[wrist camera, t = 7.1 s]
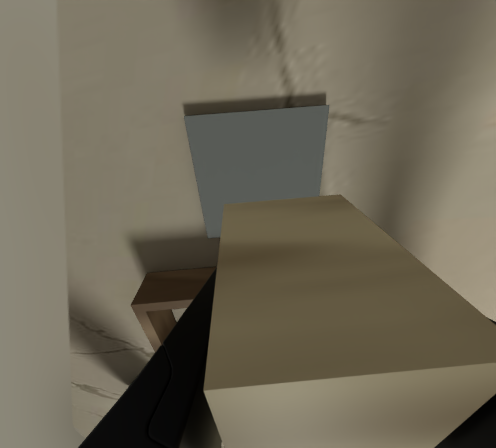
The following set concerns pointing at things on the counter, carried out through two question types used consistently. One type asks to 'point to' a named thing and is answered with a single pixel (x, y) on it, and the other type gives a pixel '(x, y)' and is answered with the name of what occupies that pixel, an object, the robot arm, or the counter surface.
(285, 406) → the maple block
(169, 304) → the box
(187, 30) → the counter surface
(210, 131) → the pad
